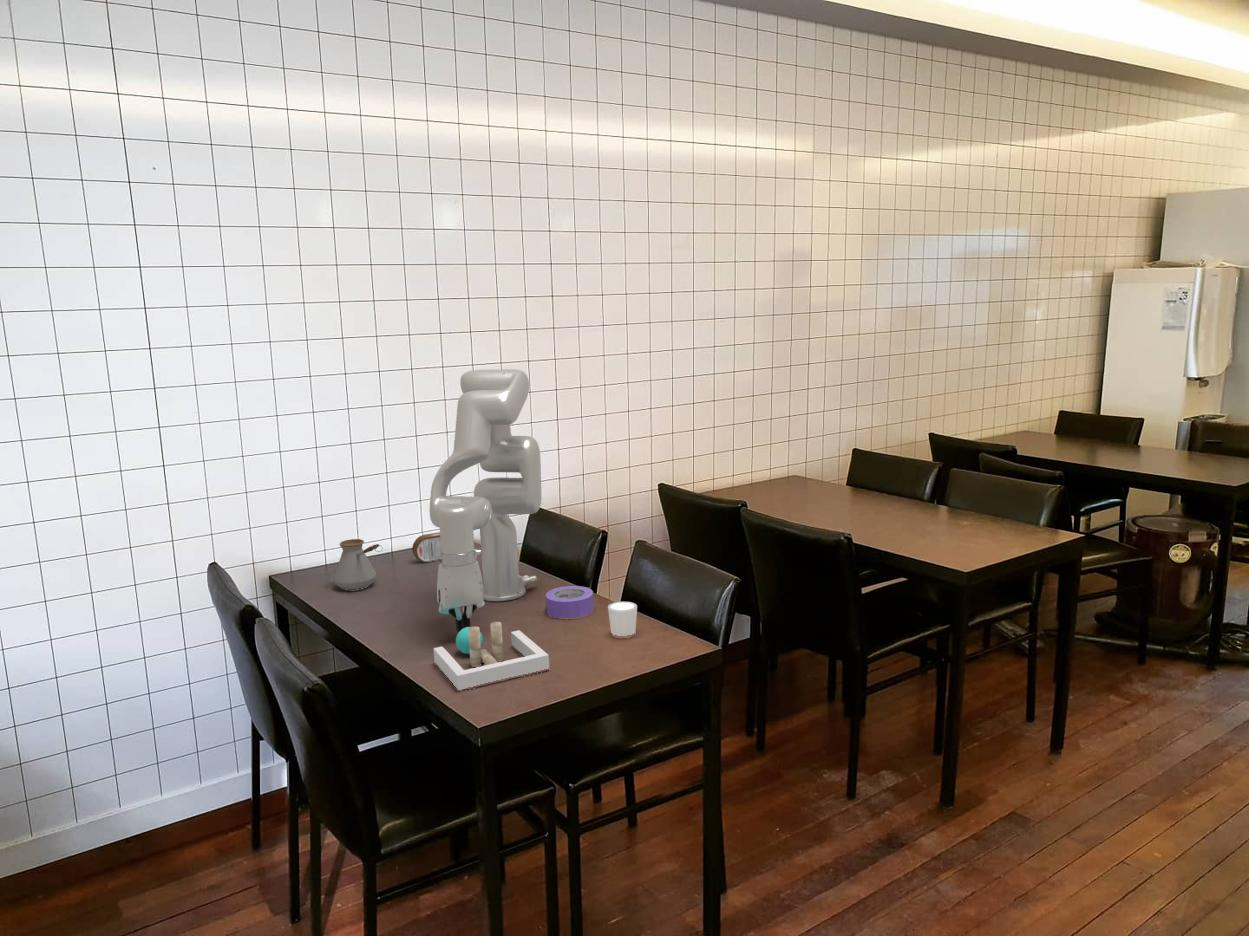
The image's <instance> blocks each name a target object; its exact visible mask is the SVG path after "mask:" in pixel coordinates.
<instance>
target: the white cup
mask: <svg viewBox="0 0 1249 936" xmlns="http://www.w3.org/2000/svg"><path fill="white" fill-rule="evenodd" d="M607 611H608V617H609V625H610V634H611V633H612V634H613V635H617V636H627V635H632V634H634V633H635V634H636V630H637V629H636V628H637V615H638V614H637V613H638V612H637V611H638V605H637V604H636V603H634V602H631V601H615V602H612V603H610V604H608V605H607Z"/></svg>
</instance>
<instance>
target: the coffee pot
mask: <svg viewBox="0 0 1249 936" xmlns="http://www.w3.org/2000/svg"><path fill="white" fill-rule="evenodd" d="M364 543H365V541H364V539H362V538H361V539H360V538H359V539H358V538H352V539H345V540H343V541H341V542H339V546H340V548H341V549H342V552H341V554H340V557H339V561H338V564H337V566H336V571H335V573H334V576H333V582H334V584H335V585H337V587H338V588H341V589H342V588H343V589H347V590H356V589H361V588H365V587H367V586H369V585H370V586H371V584H373V583H374V582H375V580H376V578H377V573H376V570H375V569H374V567H373V565H372V563H371V562H370V560H369V558H368V556H367V555H366V554H367V553H369V552H372V551H375V552H377V553H380V552H382V551H383V549H384V548H383V546H382V545H381V544H379V543H378V544H377V543H376V544H373V545H371V546H368V547H367V548H365V549H363V544H364ZM379 546H380V547H381V550H379V551H378V550H376V549H378V548H379ZM370 586H369V587H370ZM343 589H342V590H343Z"/></svg>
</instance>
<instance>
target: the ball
mask: <svg viewBox="0 0 1249 936" xmlns="http://www.w3.org/2000/svg"><path fill="white" fill-rule="evenodd" d="M468 628H469V627H466V628H463V629H462V630H461V631H460V632H457V634H456V637H455V645H456V648H457V649H458V651H460V652H461V653H463V654H466V655H470V649H469V635H468ZM483 643H484V637H483V634H482V632H481V631H480V645H481V647H483Z"/></svg>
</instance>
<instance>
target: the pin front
mask: <svg viewBox="0 0 1249 936" xmlns="http://www.w3.org/2000/svg"><path fill="white" fill-rule="evenodd" d="M481 660H482V663H484V664H483V666H485V665H489V664H494V663H498V662H497V661H496V660H495V659H494V658H493V657H492V653H490V652H488V650H487V649H486V648H481Z"/></svg>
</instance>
